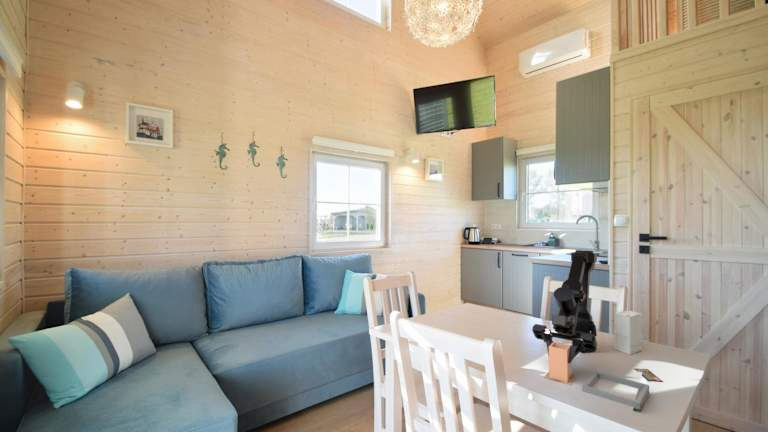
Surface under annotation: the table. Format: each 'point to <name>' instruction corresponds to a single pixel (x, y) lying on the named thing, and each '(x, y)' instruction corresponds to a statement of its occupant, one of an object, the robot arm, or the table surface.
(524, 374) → the table surface
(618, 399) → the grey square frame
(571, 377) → the stake block
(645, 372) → the chocolate bar
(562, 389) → the table surface
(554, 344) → the sleeve
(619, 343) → the skincare box
